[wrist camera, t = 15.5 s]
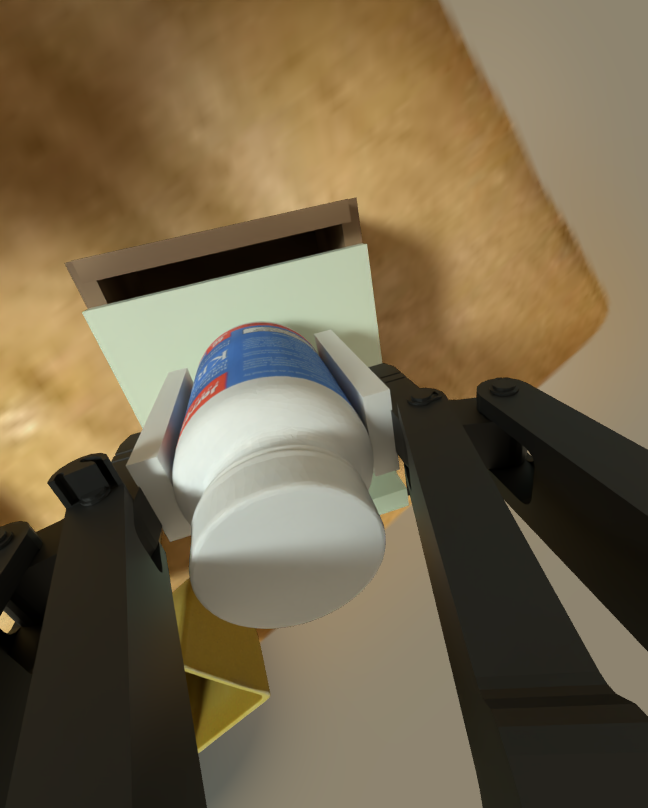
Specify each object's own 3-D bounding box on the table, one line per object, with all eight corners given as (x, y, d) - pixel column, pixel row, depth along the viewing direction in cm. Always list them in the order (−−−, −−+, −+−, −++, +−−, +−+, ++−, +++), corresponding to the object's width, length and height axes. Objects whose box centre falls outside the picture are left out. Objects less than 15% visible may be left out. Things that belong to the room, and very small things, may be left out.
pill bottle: (204, 306, 14) (157, 425, 5) (334, 332, 15) (462, 456, 7) (190, 429, 16) (138, 662, 7) (306, 440, 17) (377, 642, 9)
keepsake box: (116, 253, 20) (47, 265, 13) (320, 207, 21) (367, 194, 14) (204, 452, 26) (192, 537, 19) (356, 408, 28) (400, 471, 20)
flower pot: (265, 590, 34) (274, 697, 26) (202, 642, 36) (193, 759, 28) (190, 551, 30) (175, 665, 22) (123, 611, 31) (86, 739, 24)
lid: (89, 308, 15) (53, 327, 12) (360, 243, 16) (389, 246, 13) (200, 527, 21) (195, 575, 18) (391, 467, 22) (415, 503, 19)
